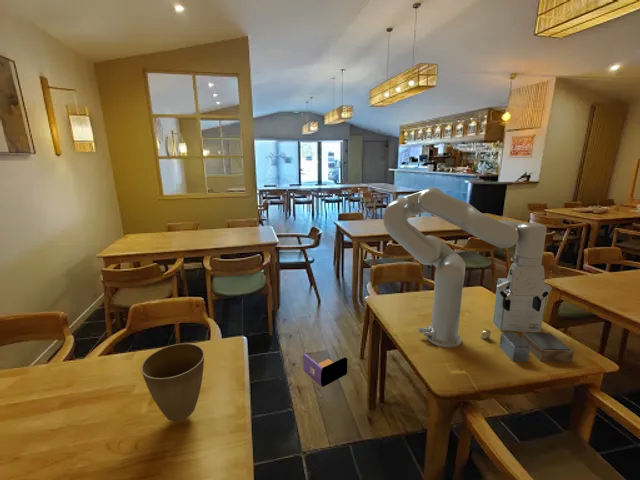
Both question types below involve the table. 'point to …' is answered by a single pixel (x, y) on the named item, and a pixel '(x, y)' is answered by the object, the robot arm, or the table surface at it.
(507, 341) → the housing
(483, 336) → the brass bushing
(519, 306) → the hard drive box
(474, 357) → the table surface
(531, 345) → the stand
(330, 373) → the miniature room corner
